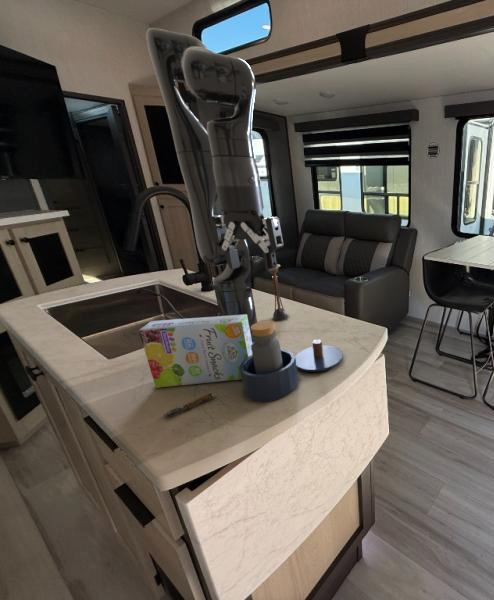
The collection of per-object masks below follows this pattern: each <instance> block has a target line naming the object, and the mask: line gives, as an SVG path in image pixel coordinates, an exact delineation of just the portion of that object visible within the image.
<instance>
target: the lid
mask: <svg viewBox="0 0 494 600" xmlns="http://www.w3.org/2000/svg"><path fill="white" fill-rule="evenodd" d="M294 356H295V359H296V367H297V370H300V371H302V372H303V371H304V372H308V373H316V372H324V371H327V370H330V369H333V368H335V367H336V366H338V365H339V364H340V363H341V362H342V361H343V358H344V353H343V352H342V350H341V349H340V348H339V347H336V346H333V345H323V341H322V340H321V339H314V340H312V346H311V347H308V348H305V349H303V350H301V351H299V352H298V353H296V354H295V355H294Z"/></svg>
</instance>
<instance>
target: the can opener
mask: <svg viewBox="0 0 494 600" xmlns="http://www.w3.org/2000/svg"><path fill="white" fill-rule="evenodd" d="M213 398H214V395H213V394H212V393H209V394H206V395H203V396H200V397H199V398H197V399H195V400H193V401H190V402H188V403H186V404H185V405H183V406H182V407H175V408H174V409H171V410H169V411H167V412H166V413H165V414H163V415H162V416H163V417H164V416H165V415H166V416H167V417H168V418H170V417H172V416H173V415H174V414H179V413H181V412H182V411H183V410H189V409H191V408H193V407H195V406H197V405H201V404H203V403H205V402H207V401H209V400H212V399H213Z"/></svg>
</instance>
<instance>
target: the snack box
mask: <svg viewBox="0 0 494 600" xmlns="http://www.w3.org/2000/svg"><path fill="white" fill-rule="evenodd" d="M138 334H139V337H140V340H141V343H142V347H143V350H144V353H145V356H146V360H147V364H148V366H149V369H150V373H151V376H152V379H153V383H154V386H155V388H156V389H158V388H168V387H177V386H188V385H198V384H209V383H218V382H229V381H239V380H242V377H241V372H240V365H241V363H242V362H243V360H245V359H246V358H248V357H249V356H251V355H253V354H252V348H251V346H252V340H251V334H250V328H249V323H248V317H247V314H245V315H231V316H217V315H216V316H205V317H203V316H202V317H191V318H186V319H182V318H176V319H161V320H151V321H149V322H147V323H146V324H145V325H144V326H142V327H141V328H140V329H138Z"/></svg>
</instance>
